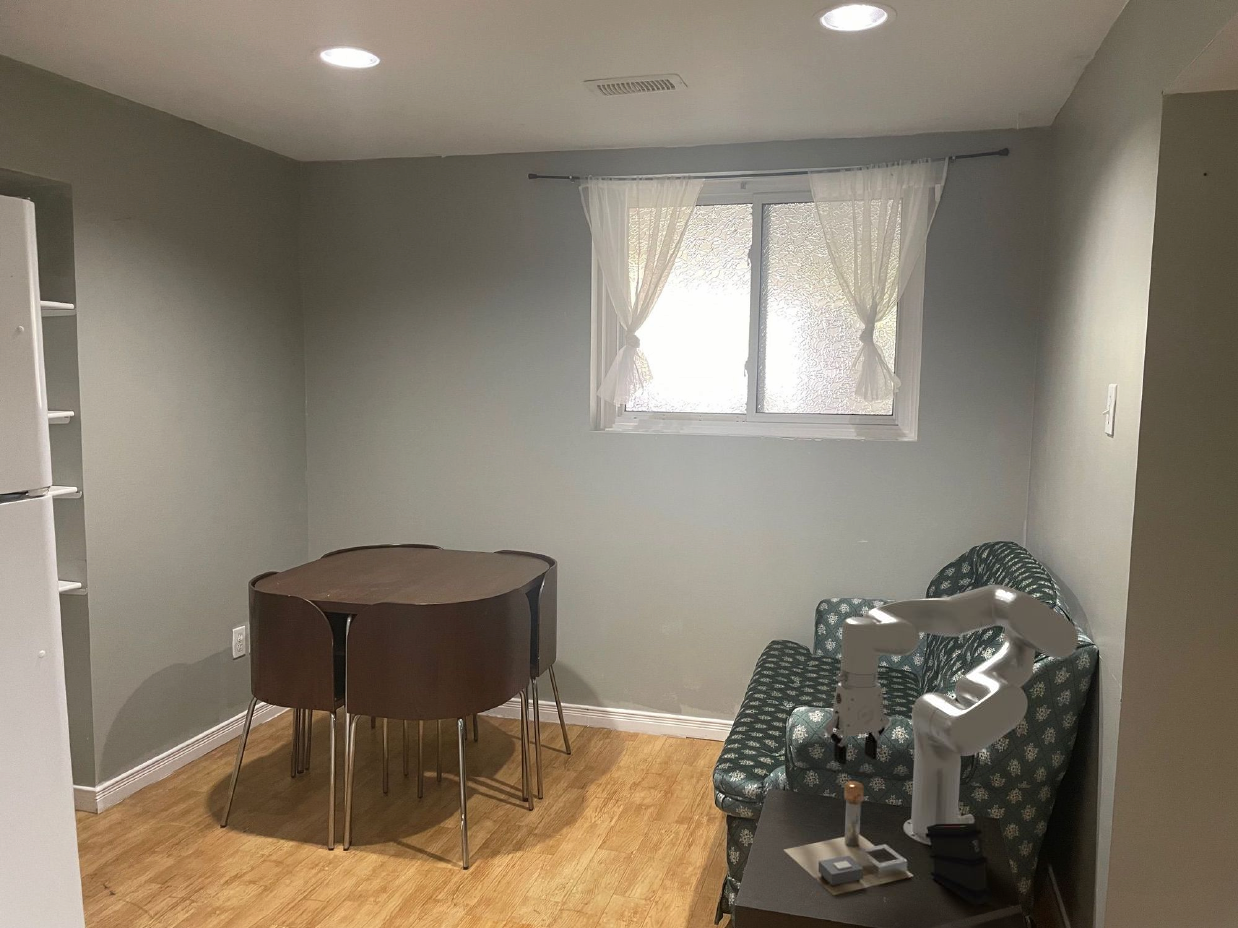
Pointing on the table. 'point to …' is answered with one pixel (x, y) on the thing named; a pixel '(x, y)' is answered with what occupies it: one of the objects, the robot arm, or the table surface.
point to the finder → (840, 870)
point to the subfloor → (836, 848)
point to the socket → (886, 869)
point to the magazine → (959, 860)
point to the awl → (853, 812)
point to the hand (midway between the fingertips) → (855, 758)
